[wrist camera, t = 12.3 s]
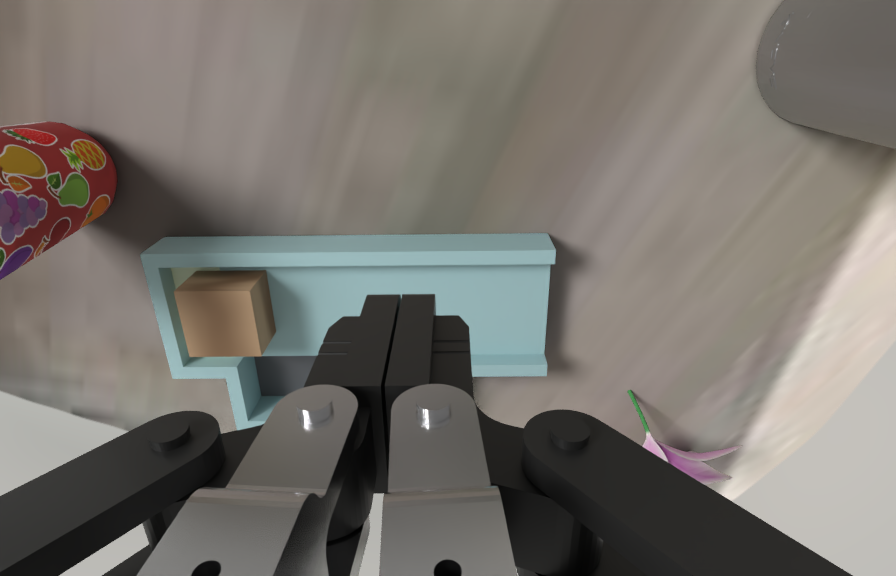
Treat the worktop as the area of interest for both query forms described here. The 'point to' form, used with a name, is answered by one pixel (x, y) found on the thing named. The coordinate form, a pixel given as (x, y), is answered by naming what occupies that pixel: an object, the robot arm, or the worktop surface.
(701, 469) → the lily
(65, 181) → the smoothie
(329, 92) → the worktop surface
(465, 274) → the box
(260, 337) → the walnut block
